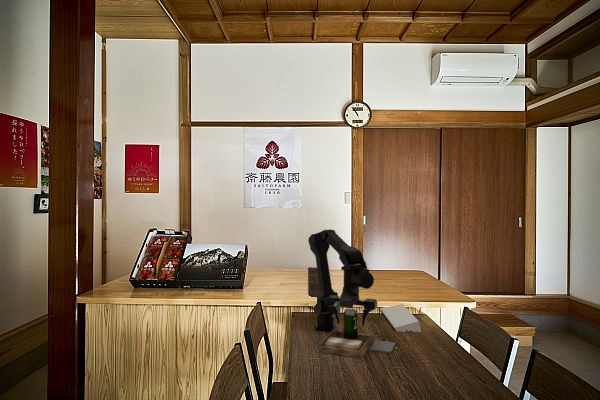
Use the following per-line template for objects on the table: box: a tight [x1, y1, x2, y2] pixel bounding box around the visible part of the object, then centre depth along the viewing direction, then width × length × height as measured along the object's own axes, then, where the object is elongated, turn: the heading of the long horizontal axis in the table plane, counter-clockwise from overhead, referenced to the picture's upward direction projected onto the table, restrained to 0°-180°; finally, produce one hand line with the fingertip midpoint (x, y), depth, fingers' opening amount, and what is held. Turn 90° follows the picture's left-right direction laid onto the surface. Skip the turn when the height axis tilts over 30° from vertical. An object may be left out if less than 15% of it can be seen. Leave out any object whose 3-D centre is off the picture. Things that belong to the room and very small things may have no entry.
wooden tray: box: [318, 327, 375, 359], centre depth 163 cm, size 15×20×3 cm
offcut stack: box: [325, 337, 363, 351], centre depth 158 cm, size 13×5×4 cm, turn 69°
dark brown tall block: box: [307, 266, 320, 297], centre depth 217 cm, size 8×7×20 cm
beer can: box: [343, 308, 359, 341], centre depth 167 cm, size 5×5×12 cm
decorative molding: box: [379, 303, 422, 333], centre depth 198 cm, size 34×5×10 cm
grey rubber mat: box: [368, 339, 396, 354], centre depth 162 cm, size 8×10×1 cm
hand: (350, 325), depth 167 cm, fingers open, 9 cm apart
